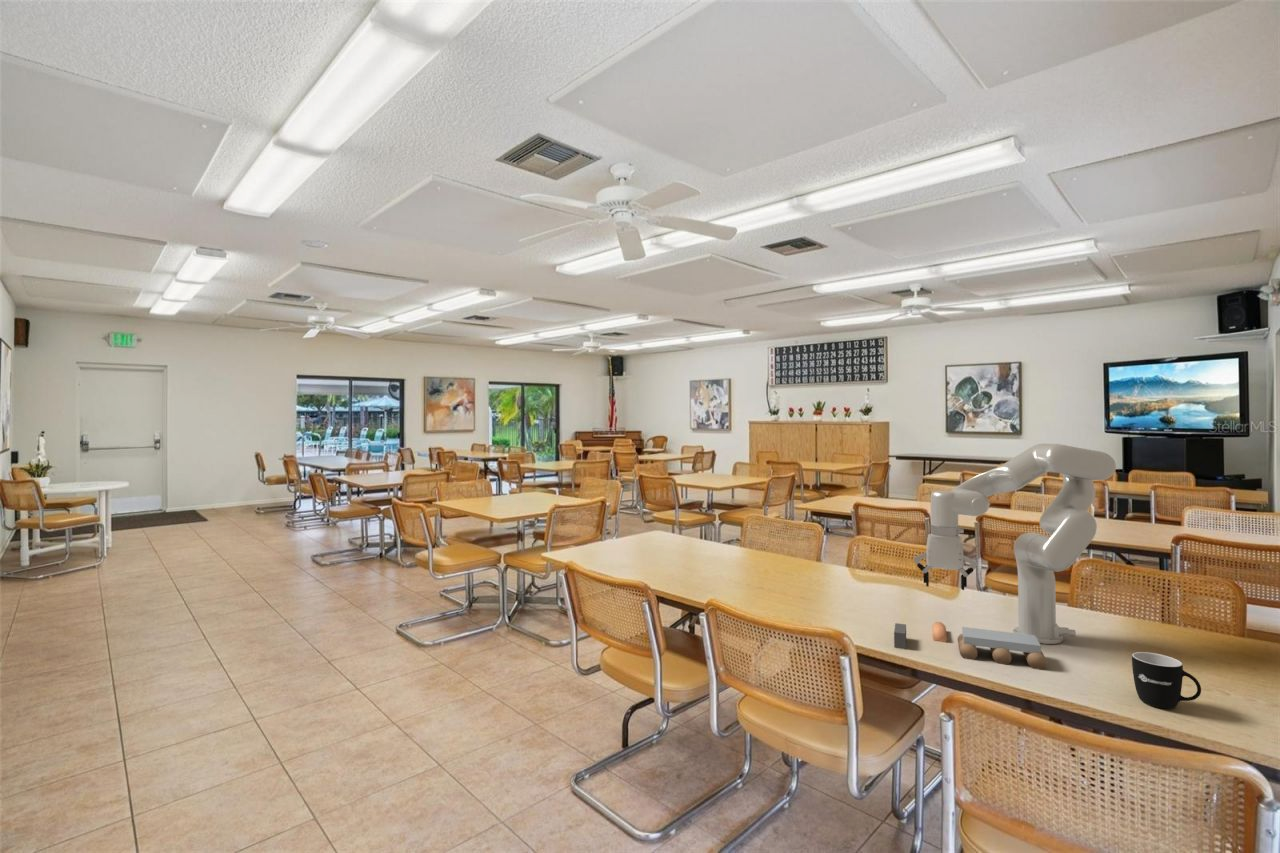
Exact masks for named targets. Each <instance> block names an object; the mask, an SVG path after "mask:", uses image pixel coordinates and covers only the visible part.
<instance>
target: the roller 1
mask: <svg viewBox="0 0 1280 853" xmlns="http://www.w3.org/2000/svg"><path fill="white" fill-rule="evenodd" d="M947 636H948V635H947V626H946V625H945V624H944V623H943V622H940V621H936V622H934V623H933V624H932V640H933V641H934V642H940V643H947V641H948V637H947Z"/></svg>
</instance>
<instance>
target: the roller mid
mask: <svg viewBox="0 0 1280 853" xmlns="http://www.w3.org/2000/svg"><path fill="white" fill-rule="evenodd" d="M989 649H990V652H991V653H990V654H991V655H992V659H993V660H994V662H995V663H997V664H999V665H1005V666H1006V665H1008V664H1010V663H1011V661H1012V655H1011V652H1010V650H1006V649H1004V648H989Z"/></svg>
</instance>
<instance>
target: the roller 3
mask: <svg viewBox="0 0 1280 853" xmlns="http://www.w3.org/2000/svg"><path fill="white" fill-rule="evenodd" d="M1022 653H1023V655H1024V657H1025V661H1026V662H1027V664H1028V666H1029V667H1031V668H1032V669H1033V670H1039V671H1040V670H1043V669H1045V668H1046V667H1047V665H1048V661H1047V659H1046V657H1045V655H1044V653H1043V651H1042V650H1041V654H1040V653H1037V652H1034V653H1028V652H1022Z"/></svg>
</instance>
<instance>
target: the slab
mask: <svg viewBox="0 0 1280 853" xmlns="http://www.w3.org/2000/svg"><path fill="white" fill-rule="evenodd" d="M961 634H962V636H963V641H964V644H971V645H973V646H976V647H982V648H988V649H990V648H1004V649H1006V650H1009V651H1015V652H1022V653H1023V652H1028V653H1034V652H1037V653H1040V654H1041V651H1042V645H1041V643H1039V642H1038V640H1037V638H1036V636H1035V635H1028V634H1019V633H1013V632H1011V631H1010V632H1009V631H1001V630H992V629H984V628H976V627H966V626H962V627H961Z"/></svg>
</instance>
